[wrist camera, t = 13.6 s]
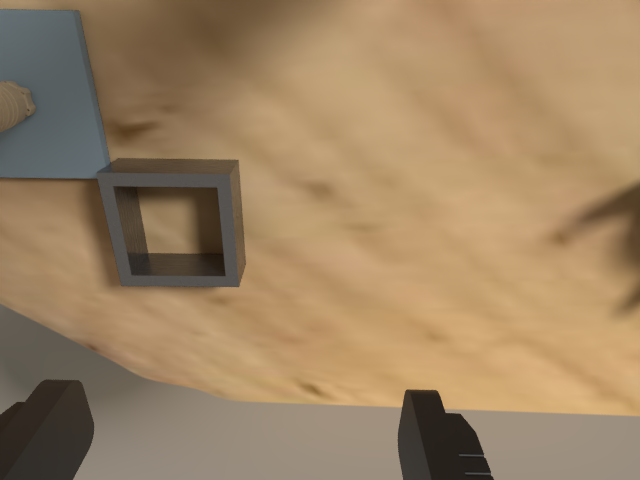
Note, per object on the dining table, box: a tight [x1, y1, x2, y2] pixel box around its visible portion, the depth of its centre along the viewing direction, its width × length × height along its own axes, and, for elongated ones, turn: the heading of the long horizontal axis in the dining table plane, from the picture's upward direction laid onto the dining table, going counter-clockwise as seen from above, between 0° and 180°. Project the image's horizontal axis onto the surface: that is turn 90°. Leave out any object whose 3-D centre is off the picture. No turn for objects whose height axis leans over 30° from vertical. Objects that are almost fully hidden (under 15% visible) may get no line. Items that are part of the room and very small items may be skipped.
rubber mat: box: [0, 9, 110, 179], centre depth 37 cm, size 14×13×1 cm
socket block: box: [96, 158, 246, 287], centre depth 41 cm, size 11×11×4 cm
